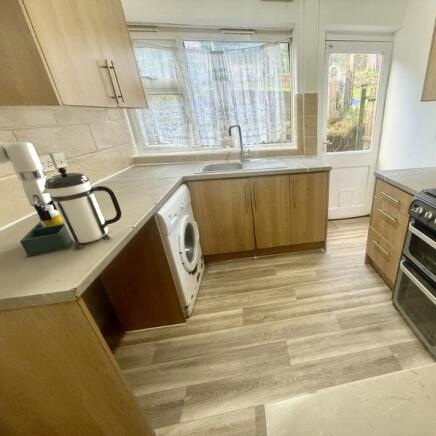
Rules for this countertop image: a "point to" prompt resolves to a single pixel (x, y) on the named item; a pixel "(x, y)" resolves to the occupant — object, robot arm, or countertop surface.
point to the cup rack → (45, 239)
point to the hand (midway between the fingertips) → (50, 216)
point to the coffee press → (80, 206)
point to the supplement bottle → (55, 217)
